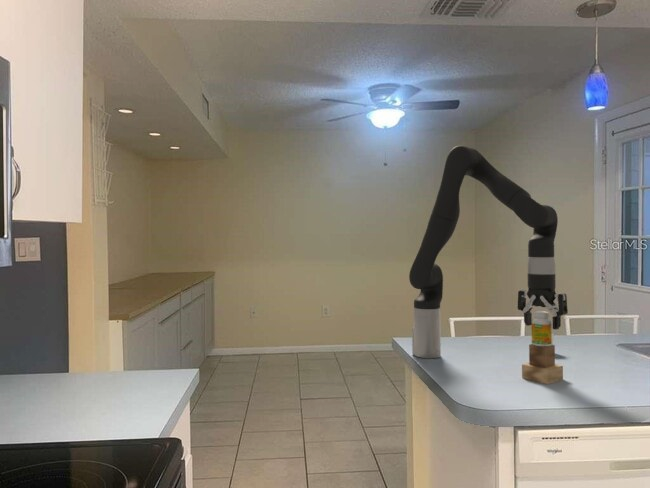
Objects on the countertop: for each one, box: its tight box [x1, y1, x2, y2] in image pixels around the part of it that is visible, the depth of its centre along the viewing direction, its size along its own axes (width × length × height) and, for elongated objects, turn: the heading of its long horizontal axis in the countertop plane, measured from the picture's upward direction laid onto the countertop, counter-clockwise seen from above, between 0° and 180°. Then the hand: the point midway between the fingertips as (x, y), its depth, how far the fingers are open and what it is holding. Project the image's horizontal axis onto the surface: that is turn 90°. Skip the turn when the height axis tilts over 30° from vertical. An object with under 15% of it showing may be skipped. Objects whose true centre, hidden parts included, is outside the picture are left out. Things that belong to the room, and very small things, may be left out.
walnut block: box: [528, 343, 556, 368], centre depth 139 cm, size 5×5×6 cm
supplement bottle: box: [530, 310, 553, 346], centre depth 139 cm, size 5×5×10 cm
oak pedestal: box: [521, 362, 564, 385], centre depth 139 cm, size 8×8×4 cm
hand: (541, 327), depth 139 cm, fingers open, 8 cm apart
